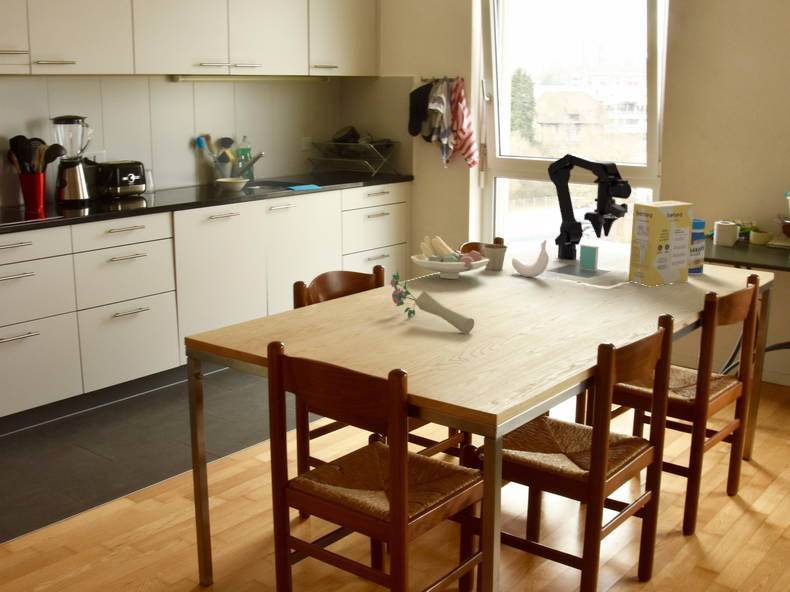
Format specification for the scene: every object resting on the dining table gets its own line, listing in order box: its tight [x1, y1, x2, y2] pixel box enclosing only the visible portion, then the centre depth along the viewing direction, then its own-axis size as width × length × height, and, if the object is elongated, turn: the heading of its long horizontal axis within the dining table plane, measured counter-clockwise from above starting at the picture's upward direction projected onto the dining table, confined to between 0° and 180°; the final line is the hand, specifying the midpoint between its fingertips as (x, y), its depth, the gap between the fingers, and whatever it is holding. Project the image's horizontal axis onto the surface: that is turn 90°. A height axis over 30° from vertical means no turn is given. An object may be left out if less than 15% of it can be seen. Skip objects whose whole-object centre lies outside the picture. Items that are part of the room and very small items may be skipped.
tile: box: [578, 244, 599, 271], centre depth 329 cm, size 7×1×9 cm, turn 46°
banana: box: [511, 239, 550, 278], centre depth 320 cm, size 5×19×15 cm, turn 36°
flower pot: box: [482, 243, 508, 271], centre depth 334 cm, size 9×9×9 cm
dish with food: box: [410, 235, 489, 280], centre depth 318 cm, size 28×28×14 cm
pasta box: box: [628, 199, 695, 287], centre depth 311 cm, size 18×10×28 cm, turn 119°
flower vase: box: [390, 270, 475, 335], centre depth 260 cm, size 12×12×35 cm
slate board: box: [545, 264, 611, 279], centre depth 328 cm, size 18×16×1 cm
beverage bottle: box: [688, 218, 707, 276], centre depth 326 cm, size 8×8×20 cm
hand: (602, 237), depth 334 cm, fingers open, 5 cm apart
